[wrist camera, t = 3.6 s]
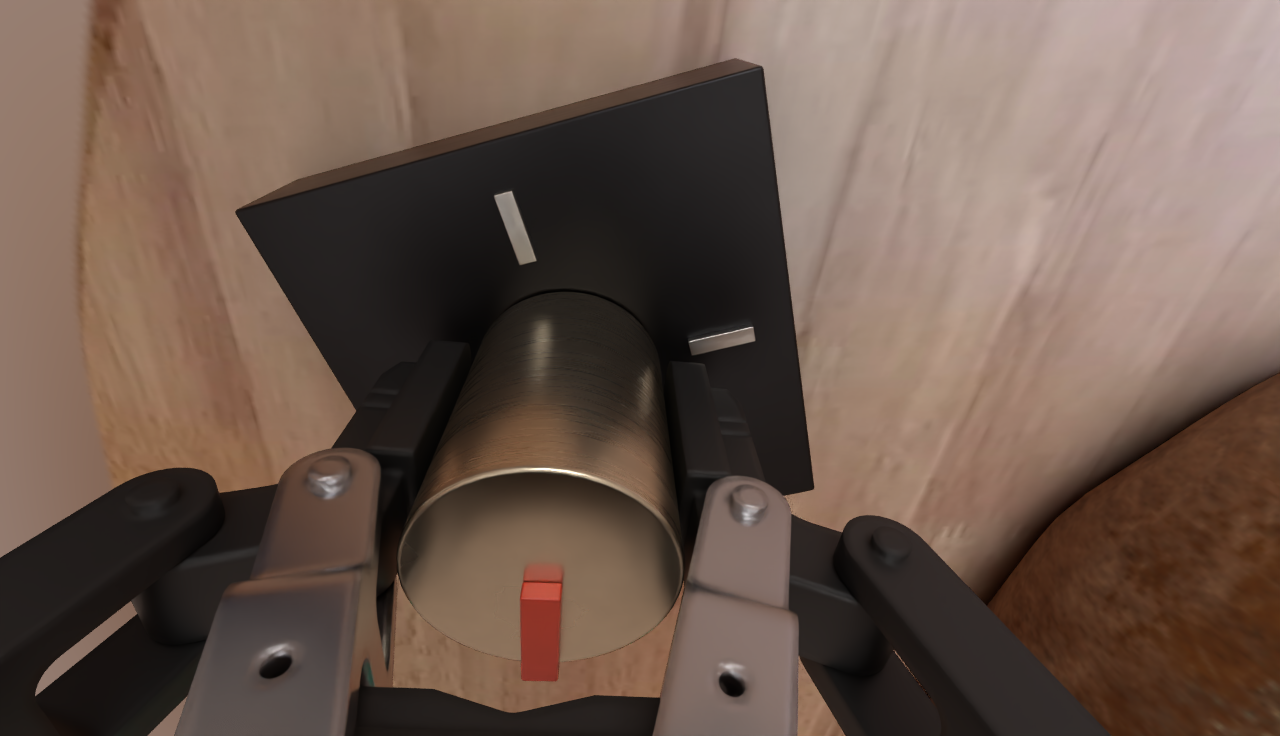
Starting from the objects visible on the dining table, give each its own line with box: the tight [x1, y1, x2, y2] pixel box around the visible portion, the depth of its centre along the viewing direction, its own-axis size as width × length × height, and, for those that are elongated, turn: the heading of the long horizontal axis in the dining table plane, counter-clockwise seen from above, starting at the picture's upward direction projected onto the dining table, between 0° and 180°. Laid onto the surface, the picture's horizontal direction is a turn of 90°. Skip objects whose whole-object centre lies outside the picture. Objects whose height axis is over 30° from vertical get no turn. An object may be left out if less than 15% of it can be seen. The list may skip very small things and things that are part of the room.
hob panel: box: [235, 59, 814, 496], centre depth 14 cm, size 10×10×3 cm
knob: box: [396, 292, 685, 681], centre depth 10 cm, size 4×4×6 cm
